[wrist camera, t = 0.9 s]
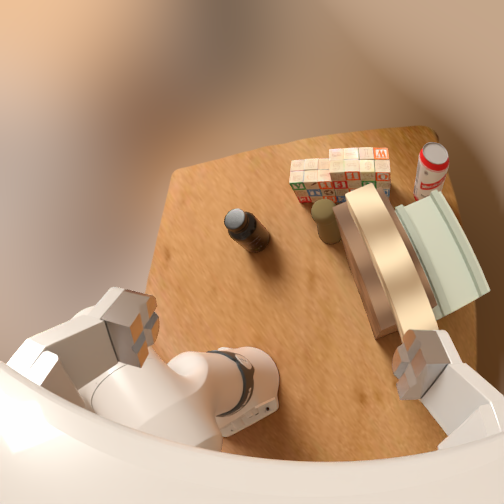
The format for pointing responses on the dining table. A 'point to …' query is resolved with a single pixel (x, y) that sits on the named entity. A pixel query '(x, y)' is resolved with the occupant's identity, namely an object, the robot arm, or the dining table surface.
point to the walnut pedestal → (366, 272)
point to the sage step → (443, 253)
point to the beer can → (430, 170)
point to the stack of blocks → (340, 174)
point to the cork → (326, 221)
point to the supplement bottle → (246, 230)
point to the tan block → (391, 261)
